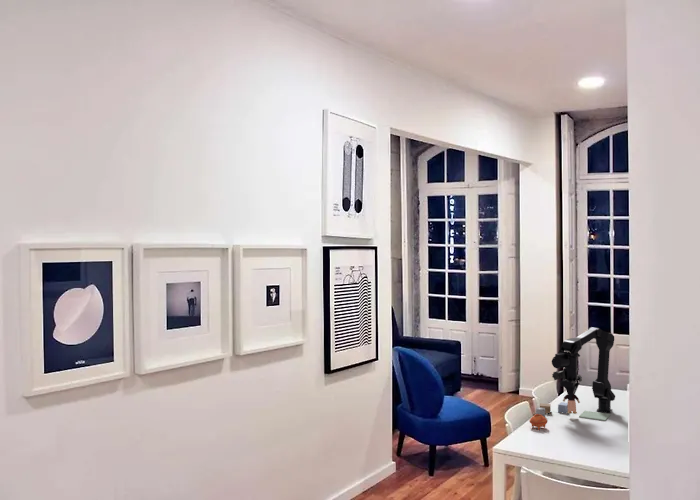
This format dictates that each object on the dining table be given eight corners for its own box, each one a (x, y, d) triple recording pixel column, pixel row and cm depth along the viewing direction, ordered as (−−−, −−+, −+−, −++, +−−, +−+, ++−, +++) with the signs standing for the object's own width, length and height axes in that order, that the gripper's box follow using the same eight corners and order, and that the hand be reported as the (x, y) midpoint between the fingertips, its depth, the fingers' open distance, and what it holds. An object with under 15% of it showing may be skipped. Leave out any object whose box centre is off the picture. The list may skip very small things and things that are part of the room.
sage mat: (584, 411, 311) (584, 410, 311) (610, 415, 304) (610, 414, 304) (579, 417, 301) (579, 416, 301) (605, 421, 294) (605, 419, 294)
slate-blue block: (561, 410, 315) (561, 402, 315) (569, 411, 313) (569, 403, 313) (558, 412, 310) (558, 404, 310) (566, 413, 308) (566, 405, 308)
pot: (550, 430, 278) (546, 415, 279) (532, 433, 280) (529, 419, 280) (548, 424, 286) (544, 410, 286) (531, 428, 288) (527, 413, 288)
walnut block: (540, 411, 313) (540, 403, 313) (550, 411, 312) (550, 404, 312) (539, 413, 308) (539, 405, 308) (550, 414, 307) (550, 406, 307)
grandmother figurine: (578, 412, 301) (578, 386, 302) (580, 414, 298) (580, 387, 298) (561, 411, 302) (562, 385, 302) (563, 413, 298) (563, 387, 299)
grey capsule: (537, 415, 305) (537, 407, 305) (546, 416, 303) (546, 408, 303) (534, 417, 301) (534, 409, 301) (543, 418, 299) (543, 410, 299)
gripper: (559, 361, 312) (559, 392, 312) (548, 367, 296) (548, 400, 297) (582, 363, 306) (582, 395, 306) (572, 370, 290) (572, 403, 290)
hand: (571, 398), depth 300 cm, fingers closed on grandmother figurine, 3 cm apart
